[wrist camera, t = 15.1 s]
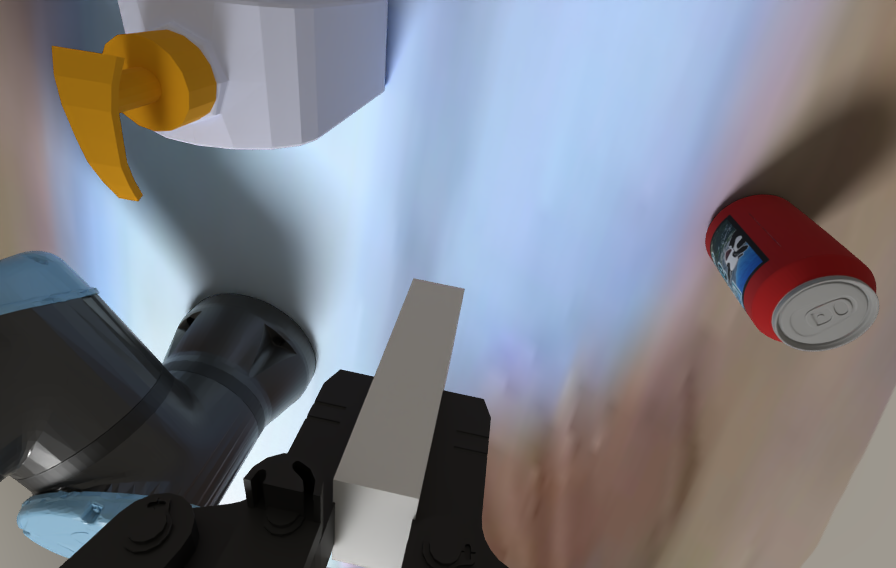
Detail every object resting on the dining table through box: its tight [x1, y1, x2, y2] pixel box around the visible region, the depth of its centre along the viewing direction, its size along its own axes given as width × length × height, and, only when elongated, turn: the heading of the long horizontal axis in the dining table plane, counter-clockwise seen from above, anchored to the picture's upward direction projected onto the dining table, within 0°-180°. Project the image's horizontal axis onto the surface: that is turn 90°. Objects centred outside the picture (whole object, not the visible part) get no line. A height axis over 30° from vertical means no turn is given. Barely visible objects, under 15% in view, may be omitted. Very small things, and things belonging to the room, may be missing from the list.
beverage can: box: [705, 195, 879, 351], centre depth 33 cm, size 7×7×12 cm
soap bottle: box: [52, 0, 388, 201], centre depth 25 cm, size 9×7×23 cm
